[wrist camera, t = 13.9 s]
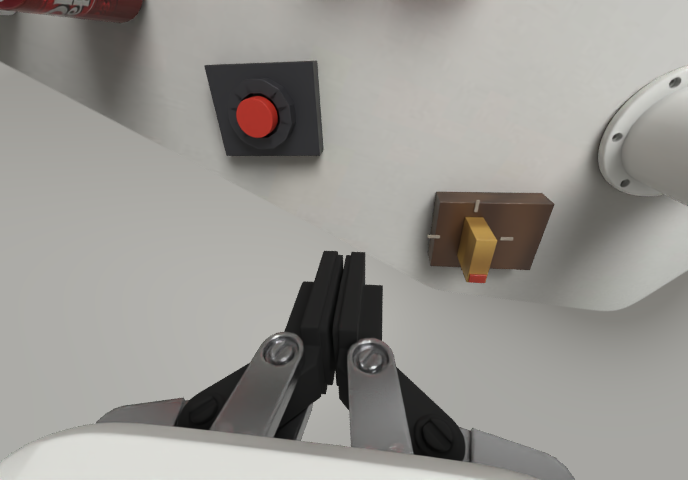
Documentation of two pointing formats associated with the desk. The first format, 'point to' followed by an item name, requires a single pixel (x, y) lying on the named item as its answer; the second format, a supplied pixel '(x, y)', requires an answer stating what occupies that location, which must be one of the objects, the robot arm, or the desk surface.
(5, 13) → the binoculars
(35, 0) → the soda can
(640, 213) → the desk surface
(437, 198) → the plate
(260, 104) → the button
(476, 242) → the handle
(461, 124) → the desk surface
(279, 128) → the button box
